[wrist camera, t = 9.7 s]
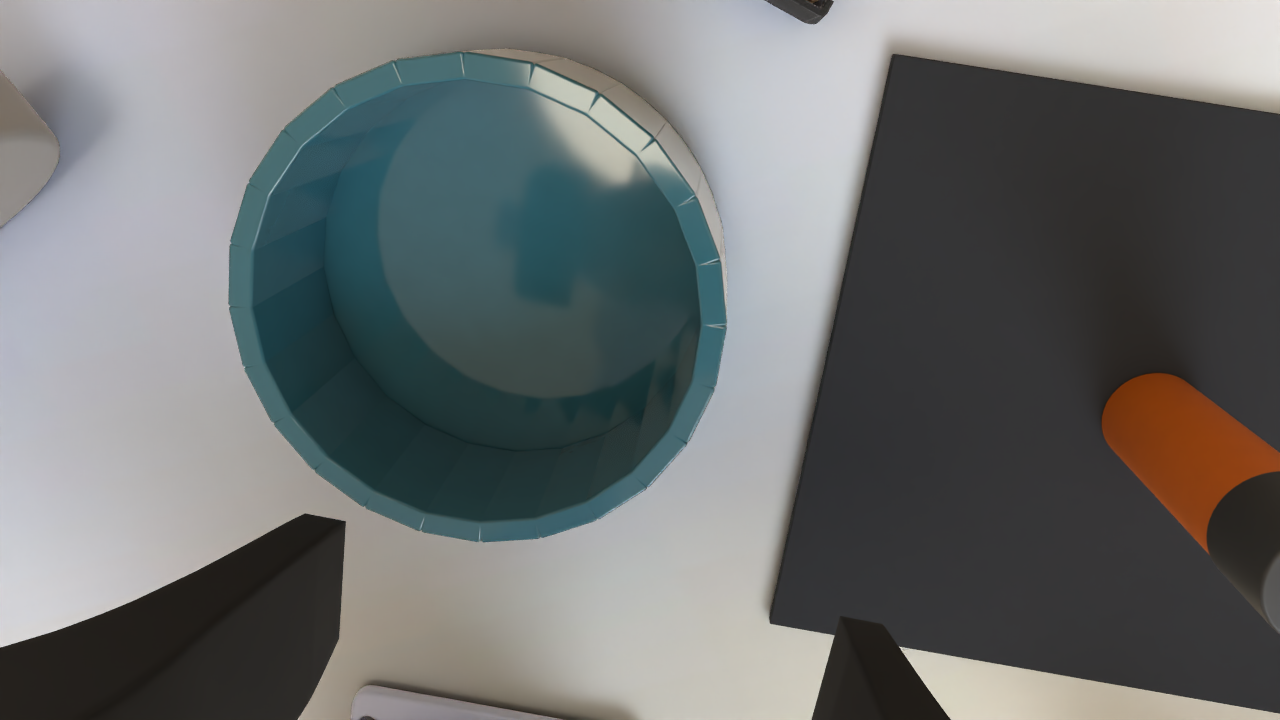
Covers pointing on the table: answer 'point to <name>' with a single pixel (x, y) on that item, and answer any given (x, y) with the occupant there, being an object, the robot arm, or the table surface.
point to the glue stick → (1205, 478)
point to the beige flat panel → (22, 151)
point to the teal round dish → (481, 292)
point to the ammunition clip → (804, 9)
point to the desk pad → (1039, 379)
